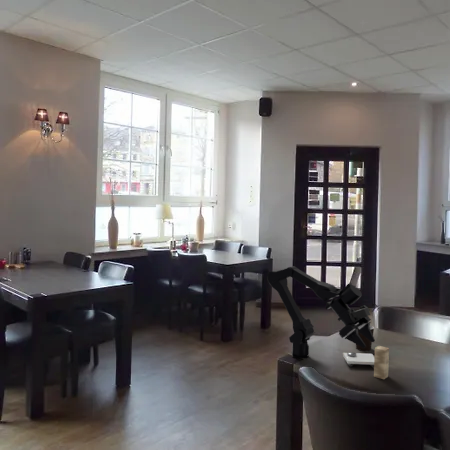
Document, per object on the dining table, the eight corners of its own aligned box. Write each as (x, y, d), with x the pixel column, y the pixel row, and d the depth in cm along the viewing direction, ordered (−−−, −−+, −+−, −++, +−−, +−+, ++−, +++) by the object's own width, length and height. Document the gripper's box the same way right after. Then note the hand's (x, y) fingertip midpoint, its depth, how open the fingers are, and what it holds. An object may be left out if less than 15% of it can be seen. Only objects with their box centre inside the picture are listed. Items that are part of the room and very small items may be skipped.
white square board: (347, 367, 182) (347, 361, 181) (342, 358, 192) (343, 352, 191) (378, 368, 181) (378, 362, 181) (371, 359, 191) (372, 353, 191)
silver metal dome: (348, 356, 187) (348, 354, 187) (346, 353, 190) (346, 351, 190) (357, 357, 186) (357, 355, 186) (355, 354, 190) (355, 352, 190)
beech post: (373, 376, 173) (374, 348, 172) (377, 373, 176) (378, 345, 175) (384, 379, 170) (385, 350, 169) (388, 376, 173) (389, 348, 173)
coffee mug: (374, 352, 200) (375, 330, 200) (354, 350, 202) (354, 328, 201) (371, 344, 211) (372, 323, 211) (352, 342, 213) (352, 321, 213)
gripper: (347, 303, 170) (375, 338, 164) (366, 295, 185) (393, 327, 179) (327, 320, 176) (354, 355, 169) (347, 311, 190) (372, 343, 184)
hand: (369, 344), depth 175 cm, fingers open, 9 cm apart
